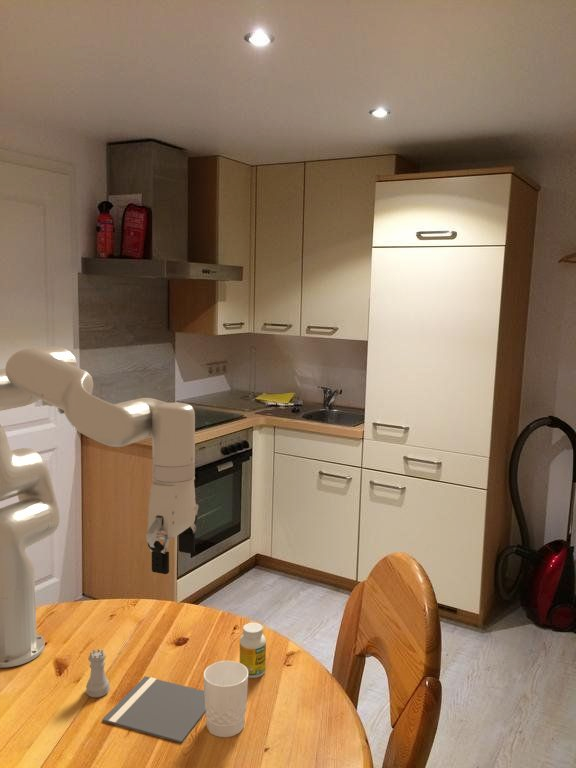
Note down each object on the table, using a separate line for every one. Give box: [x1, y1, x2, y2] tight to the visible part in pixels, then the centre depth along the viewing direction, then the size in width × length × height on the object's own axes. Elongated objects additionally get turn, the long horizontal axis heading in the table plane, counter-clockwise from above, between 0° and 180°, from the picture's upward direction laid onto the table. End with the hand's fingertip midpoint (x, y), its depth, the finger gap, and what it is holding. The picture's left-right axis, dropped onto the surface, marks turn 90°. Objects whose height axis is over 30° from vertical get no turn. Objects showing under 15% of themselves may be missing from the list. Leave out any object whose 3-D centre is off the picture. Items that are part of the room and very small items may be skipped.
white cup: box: [203, 660, 249, 738], centre depth 114 cm, size 8×8×10 cm
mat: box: [102, 676, 206, 744], centre depth 118 cm, size 16×14×1 cm
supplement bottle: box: [239, 622, 267, 679], centre depth 130 cm, size 5×5×10 cm
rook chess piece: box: [85, 648, 111, 699], centre depth 123 cm, size 4×4×8 cm
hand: (174, 561), depth 118 cm, fingers open, 9 cm apart
